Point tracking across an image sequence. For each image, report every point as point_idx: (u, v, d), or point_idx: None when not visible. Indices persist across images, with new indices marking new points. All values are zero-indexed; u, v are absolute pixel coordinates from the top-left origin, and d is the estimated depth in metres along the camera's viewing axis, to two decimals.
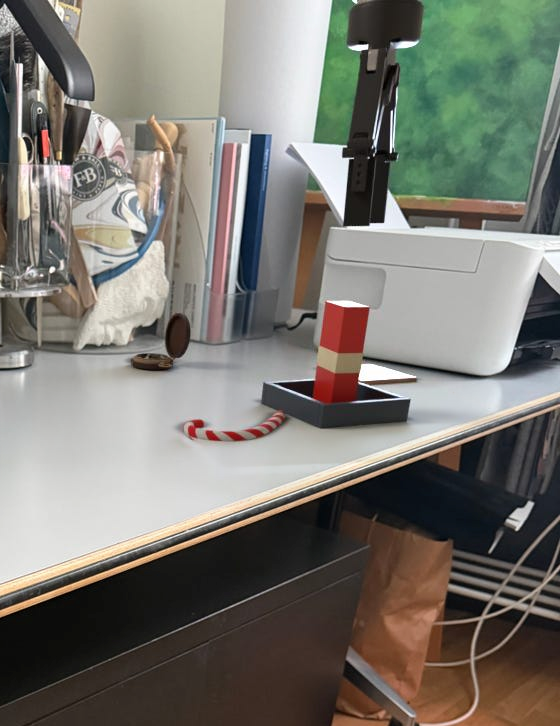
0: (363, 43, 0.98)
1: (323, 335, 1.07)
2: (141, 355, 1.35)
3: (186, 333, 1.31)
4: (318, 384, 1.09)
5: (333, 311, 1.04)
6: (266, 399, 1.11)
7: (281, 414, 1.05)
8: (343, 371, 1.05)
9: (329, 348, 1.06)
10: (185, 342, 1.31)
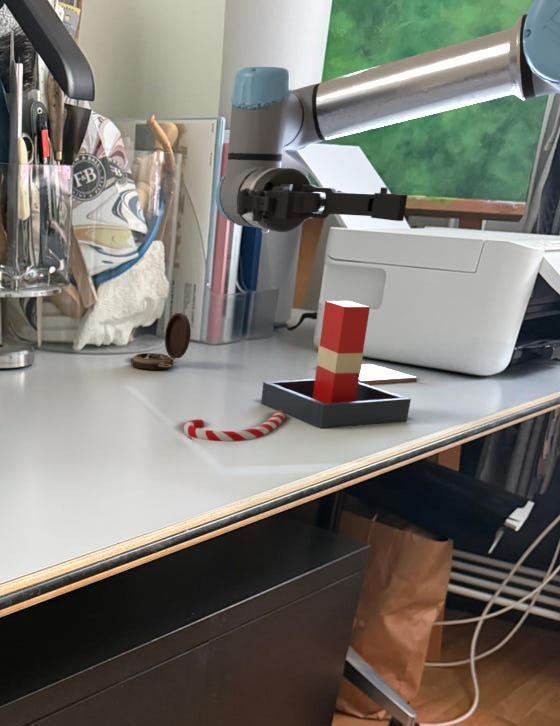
0: None
1: (323, 335, 1.07)
2: (141, 355, 1.35)
3: (186, 333, 1.31)
4: (318, 384, 1.09)
5: (333, 311, 1.04)
6: (266, 399, 1.11)
7: (281, 414, 1.05)
8: (343, 371, 1.05)
9: (329, 348, 1.06)
10: (185, 342, 1.31)
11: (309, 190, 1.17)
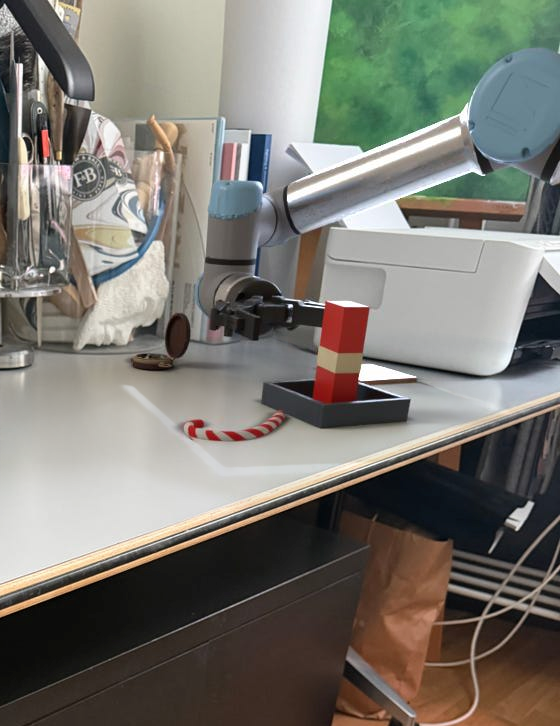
0: None
1: (323, 335, 1.07)
2: (141, 355, 1.35)
3: (186, 333, 1.31)
4: (318, 384, 1.09)
5: (333, 311, 1.04)
6: (266, 399, 1.11)
7: (281, 414, 1.05)
8: (343, 371, 1.05)
9: (329, 348, 1.06)
10: (185, 342, 1.31)
11: (278, 302, 1.25)
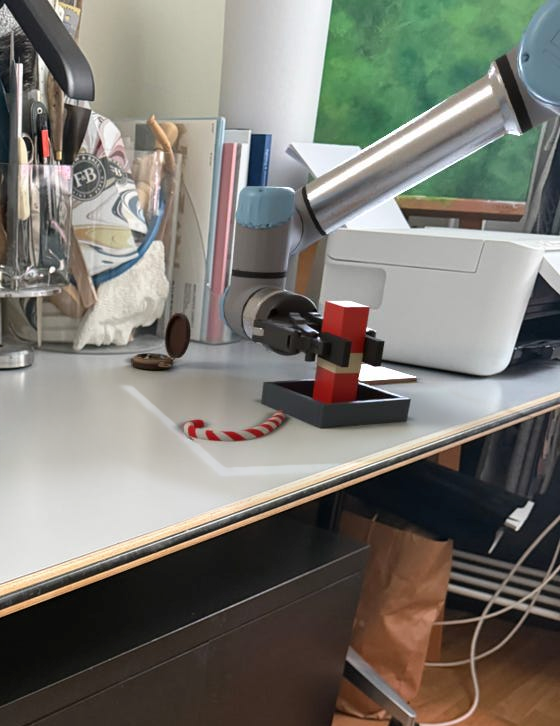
0: None
1: None
2: (141, 355, 1.35)
3: (186, 333, 1.31)
4: (318, 384, 1.09)
5: (333, 311, 1.04)
6: (266, 399, 1.11)
7: (281, 414, 1.05)
8: (343, 371, 1.05)
9: None
10: (185, 342, 1.31)
11: (310, 319, 1.15)
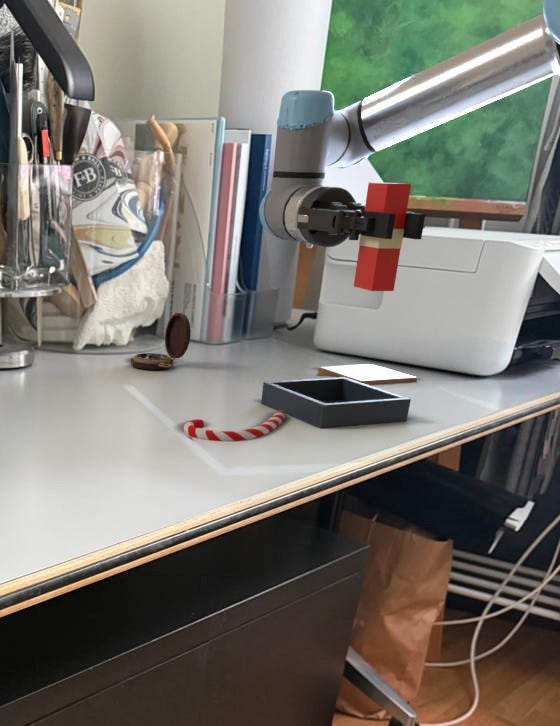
0: (316, 230, 1.27)
1: None
2: (141, 355, 1.35)
3: (186, 333, 1.31)
4: (361, 263, 1.18)
5: (376, 190, 1.13)
6: (266, 399, 1.11)
7: (281, 414, 1.05)
8: (386, 246, 1.13)
9: None
10: (185, 342, 1.31)
11: (351, 208, 1.24)
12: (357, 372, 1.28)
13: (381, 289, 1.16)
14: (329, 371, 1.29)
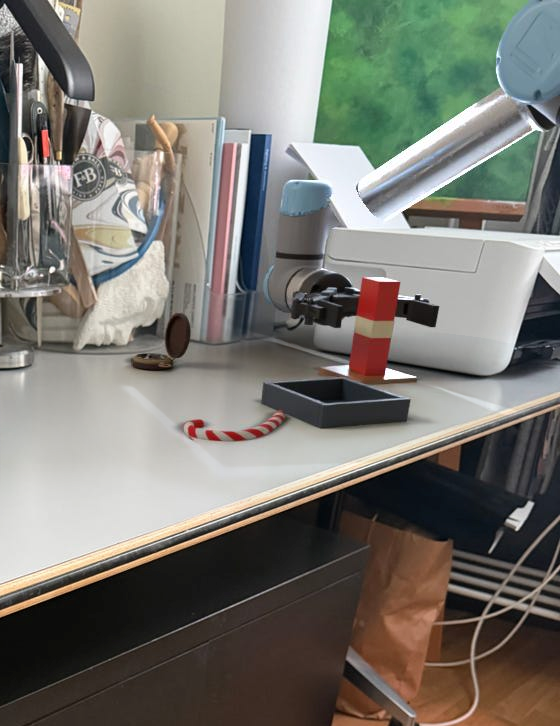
0: None
1: (360, 306, 1.26)
2: (141, 355, 1.35)
3: (186, 333, 1.31)
4: (355, 349, 1.29)
5: (369, 286, 1.24)
6: (266, 399, 1.11)
7: (281, 414, 1.05)
8: (377, 336, 1.24)
9: (365, 317, 1.25)
10: (185, 342, 1.31)
11: (351, 293, 1.34)
12: (357, 372, 1.28)
13: (373, 374, 1.27)
14: (329, 371, 1.29)
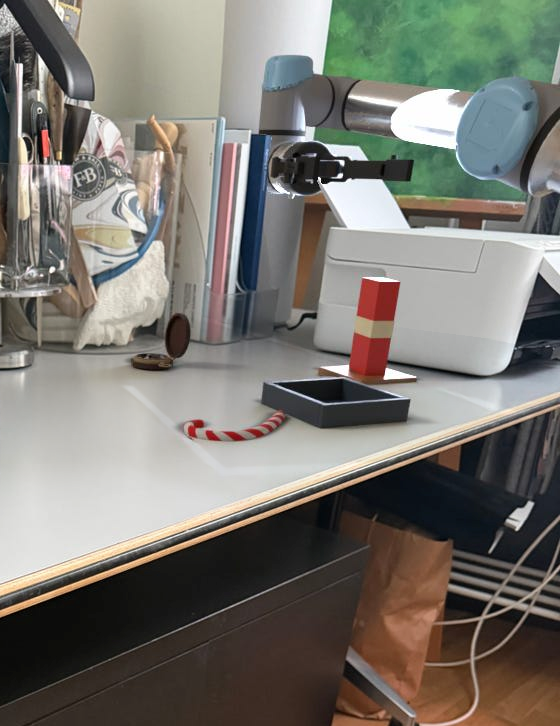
0: (296, 180, 1.42)
1: (360, 306, 1.26)
2: (141, 355, 1.35)
3: (186, 333, 1.31)
4: (355, 349, 1.29)
5: (369, 286, 1.24)
6: (266, 399, 1.11)
7: (281, 414, 1.05)
8: (377, 336, 1.24)
9: (365, 317, 1.25)
10: (185, 342, 1.31)
11: (330, 159, 1.38)
12: (357, 372, 1.28)
13: (373, 374, 1.27)
14: (329, 371, 1.29)
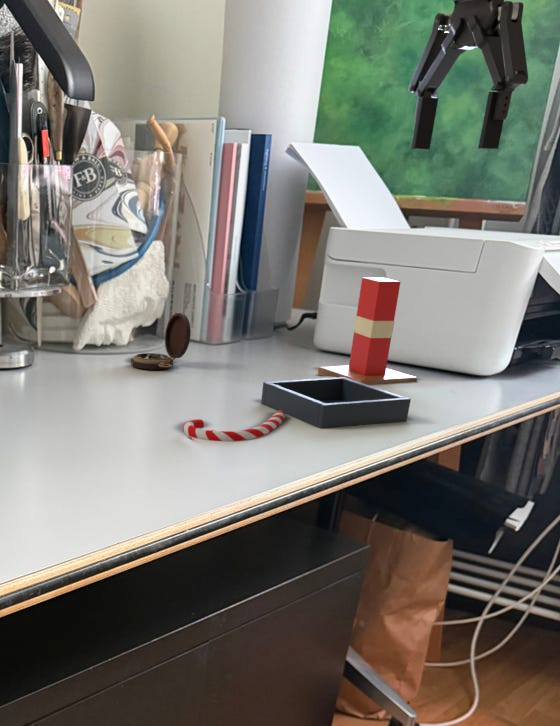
0: None
1: (360, 306, 1.26)
2: (141, 355, 1.35)
3: (186, 333, 1.31)
4: (355, 349, 1.29)
5: (369, 286, 1.24)
6: (266, 399, 1.11)
7: (281, 414, 1.05)
8: (377, 336, 1.24)
9: (365, 317, 1.25)
10: (185, 342, 1.31)
11: None
12: (357, 372, 1.28)
13: (373, 374, 1.27)
14: (329, 371, 1.29)
